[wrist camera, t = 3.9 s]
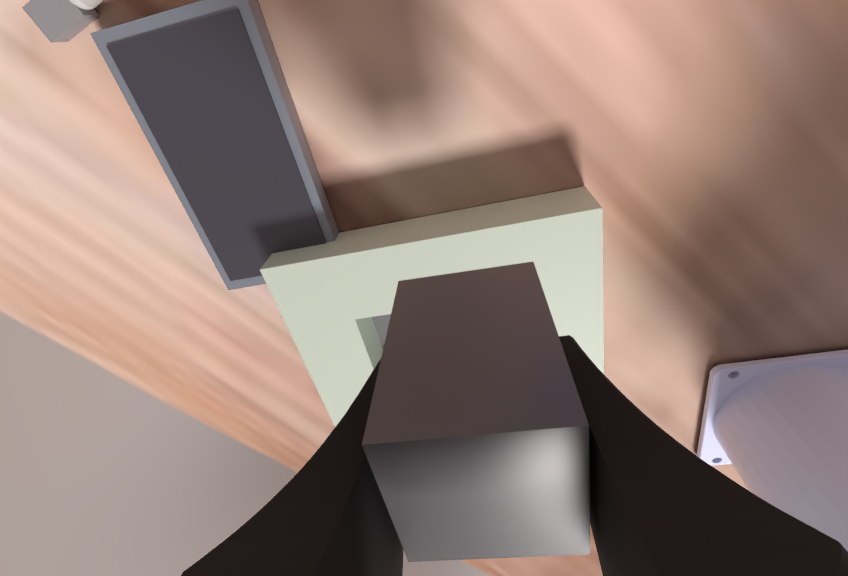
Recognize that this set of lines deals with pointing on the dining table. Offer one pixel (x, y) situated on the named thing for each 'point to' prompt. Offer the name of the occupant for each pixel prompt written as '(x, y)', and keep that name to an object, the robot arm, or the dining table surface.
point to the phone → (223, 130)
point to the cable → (62, 17)
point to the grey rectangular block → (479, 421)
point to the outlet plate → (429, 256)
